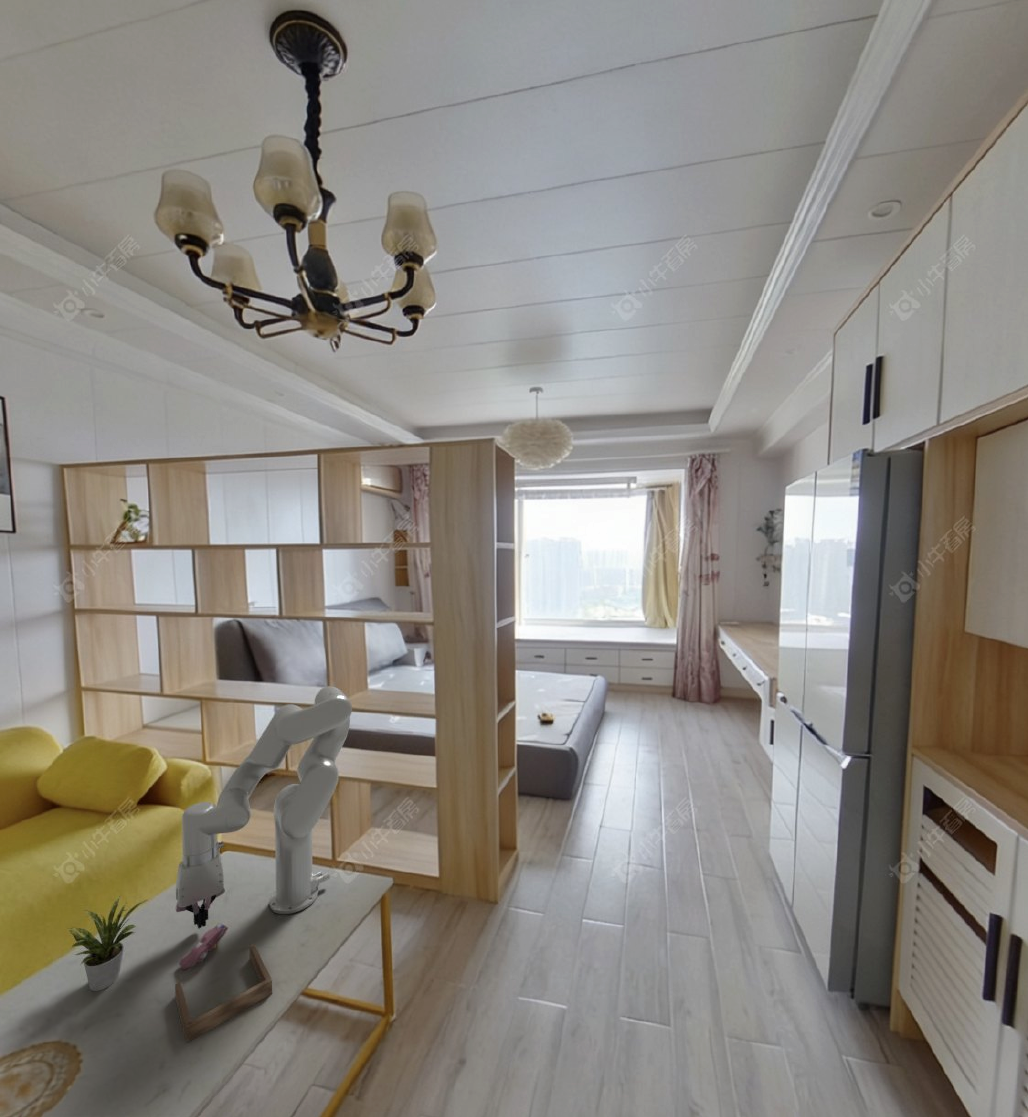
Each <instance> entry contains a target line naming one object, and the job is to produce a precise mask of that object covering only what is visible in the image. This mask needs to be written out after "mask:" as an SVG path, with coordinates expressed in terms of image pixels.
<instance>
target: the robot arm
mask: <svg viewBox="0 0 1028 1117" xmlns="http://www.w3.org/2000/svg"><path fill="white" fill-rule="evenodd" d="M352 712H353V705H352V701H351V700H350V698H349V697H348V696H346V694H344V692H343V691H342V690H341V689H340V688H338V687H335V686H331V685H328V686H327V685H326V686H325V687H322V688H321V689H320V690H319V691H318V692H317V694H316V695H315V698H314V704H313V705H312V706H308V707H306V708H304V709H303V708H302V707H300V706H298V705H295V704H291V703H290V704H289V703H288V704H285V705H283V706H281V707H280V708H278V710H277V711H276V712H275V713H274V715H273V716H272V718H271V720H270V721H269V722H268V724H267V726H266V728H265V730H264V731H263V733H262V734H261V736H260V737H259V739H258V740H257V742H256V743H255V745H254V747H253V749H252V751H251V752H250V753H249V754H248V756H246V757H245V758H244V760H243V761H242V762H241V763H240V764H239V765H238V766H237V767H236V769H235V771H234V772H233V773H232V775H231V776H230V778H229V780H228V781H227V782H226V784H225V786H224V787H223V789H222V791H221V792H220V794H219V796H218V798H217V802H216V804H215V803H214V802H211V801H202V802H198V803H195V804H192V805H190V806H189V807H187V808H186V809H185V810H184V811H183V813H182V816H181V818H182V819H181V822H182V823H181V831H182V832H181V834H182V838H181V839H182V840H181V841H182V860H181V861H180V862H179V864H178V866H177V874H176V883H175V886H176V887H175V899H176V904H175V911H176V913H180V912H185V911H188V912H190V913H192V914H193V924H194V926H195V925H196V926H197V928H198V930H199V929H202V927H206V926H207V921H208V920H209V909H210V907H211V905H212V904H213V902H214V901H215V900H216V899H217V898H218V897H220V896H222V895H223V894H224V893H225V879H224V878H225V877H224V867H223V862H222V860H223V859H222V855H221V852H220V849H221V848H223V847H224V841H218V835H219V834H220V835H221V834H231V833H235V832H238V831H240V830H242V829H244V828H245V827H246V826H247V825H248V824H249V821H251V820H250V819H251V815H252V814H251V807H250V802H249V799H250V798H251V795H252V794H253V793H254V790H255V788H256V787H257V785H258V784H259V782H260V781H261V779H262V778H263V777H264V776H265V775H266V774H268V773H269V772H273V771H275V770H277V769H279V767H280V766H281V765H282V762H283V761H284V759H285V758H286V756H287V754H288V752H289V751H290V750H291V748H292V746H293V745H294V746H295V745H298V744H301V743H304V742H307V741H309V740H311V739H312V740H311V742H310V744H309V745H308V747H307V749H306V751H305V752H304V754H303V755H302V758H301V759H300V761H299V763H298V765H297V769H296V773H297V777H298V779H299V782H300V783H291V784H288V785H287V786H284V787H283V789H281V790H280V791H279V792H278V794H277V796H276V797H275V800H274V804H273V819H274V835H275V838H274V839H275V840H274V841H275V848H274V849H275V851H274V852H275V855H274V856H275V891H274V892H273V893H272V895H271V896H270V898H269V909H270V910H271V911H272V912H273V913H275V914H279V915H290V914H295V913H297V912H300V911H302V910H304V909H306V908H308V907H309V906H311V904H313V903H314V902H315V901H316V899H317V898H318V896H319V886H320V884H322V883H325V882H327V881H328V880H330V879H331V876H330V873H329V872H325V873H322V871H321V870H320V871H318V872H316V873H314V874H313V830H314V828H315V826H316V825H317V823H318V822H319V821H320V819H321V816H322V814H323V813H324V811H325V809H326V807H327V806H328V804H329V803H330V801H331V798H332V797H333V794H334V792H335V790H336V788H337V785H338V782H339V771H338V770H339V769H338V767H337V765H336V760H337V758H338V756H339V753H340V752H341V750H342V748H343V746H344V744H345V741H346V739H347V737H348V733H349V730H350V725H351V724H350V723H351V715H352ZM201 901H202V904H200V905H199V902H201Z"/></svg>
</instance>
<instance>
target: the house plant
mask: <svg viewBox="0 0 1028 1117" xmlns="http://www.w3.org/2000/svg"><path fill="white" fill-rule="evenodd" d="M121 896H122V894H120V895H119V896H118V897H117V898H116V899H115V901H114V903H113V905H112V906H111V909H110V911H109V914H108V918H107V922H106V918H105V916H104V915H102V914H100V916H99V914H97V913H95V912H93V911H90V910H88V909H87V910H86V909H83V911H84V912H85V913H86V914H88V915H89V916H85V917H87V918H90V919H91V920H93V922H94V924H95V927H96V930H97V933H98V935H99V938H100V940H98V939H97V938H96V937H95V936H94V935H93V934H92V932H89V931H88V930H87V929H85V928H81V927H76V926H75V927H74V926H72V927H68V929H69V930H68V931H69V932H70V934H71V935H72V936H73V938H74V940H75V943H73V944H72V946H71V948H74V947H79V946H82V947H84V948H86V949H87V950H84V951H80V952H78V953H76V954H75V956H79V955H86V957H84V958H83V959H82V962H81V963H80V965H82V964H83V965H84V970H85V974H86V978H87V982H88V986H89V989H90V990H91V991H93V992H94V991H95V992H96V991H100V990H104V989H106V988H108V987H109V986H111V985H113V983H115V982H116V981H118V979H119V976H120V971H121V967H122V966H121V965H122V961H123V954H124V951H125V944H124V943H123V942H122V941H123V940H125V939H126V938H128V937H129V936H130V935H133V934H134V933H136V932H134V931H131V930H132V929H134V928H137V926H136V925H135V924H128V925H127V926H126V927H124V926H125V924H126V923H127V922H128V921H129V920H130V918H128V917H129V916H130V915H131V913H132V912H133V911H135V910H136V908H138V907H139V906H140V905H141V904H143V903H145V902H147V901H148V899H146V900H143V901H141V902H138V903H137V904H135V905H134V906H132V907H131V908H130V909H129V910H128V909H125V908H126V906H127V904H128V902H127V901H126V903H124V905H122V907H121V908H120V910H119V912H118V914H117V915H116V917H115V914H116V911H117V909H118V906H119V902H120V899H121ZM125 911H128V912H126V914H125V915H124V916H123V918H122V920H121V917H122V914H123V912H125ZM101 917H102V919H101ZM114 918H115V919H114ZM127 918H128V919H127ZM120 920H121V921H120ZM123 927H124V928H123ZM121 929H122V930H121ZM120 930H121V931H120ZM79 933H80V934H79ZM100 941H101V942H100Z"/></svg>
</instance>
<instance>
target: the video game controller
mask: <svg viewBox="0 0 1028 1117" xmlns="http://www.w3.org/2000/svg"><path fill="white" fill-rule="evenodd" d="M228 928H229V927H228V926H226V925H225V924H222V923H218V924H216V925H215V926H214V927H213V928H211V929H209V930H208V931H206V932H205V933H204V934H203V935H202V937H201V939H199V941H198V942H197V943H196V944H195V945H194V947H193V948H192V949H191V950H190V951H189V952H188V953H187V954H186V955H185V956H183V957H182V958H181V960H180V961H179V966H180V969H183V970H184V969H189V968H191V967H192V966H193V965H195V964H196V963H198V962H199V963H201V962H202V961H203V960H204V959H205V958H206V956H207V955H208V952H212V951H213V950H215V949H216V948H217V945H218V943H219V942H220V941H221V940H222V938H223V937H224V936H225V934H226V933H227V931H228Z"/></svg>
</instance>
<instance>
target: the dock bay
mask: <svg viewBox="0 0 1028 1117" xmlns="http://www.w3.org/2000/svg"><path fill="white" fill-rule="evenodd" d="M249 960H250V962H251V963H252V966H253V968H254V970H255V972H256V974H257V977H258V979H259V981H260V982H259V983H258V984H256V985H254V986H252V987H250V988H249V989H246V990H245V991H243V992H241V993H239V994H238V995H236V996H234V997H232V998H231V999H229V1000H226V1001H225V1002H223V1003H221V1004H219V1005H218V1006H216V1007H214V1008H213V1009H210V1010H209V1011H207V1012H206V1013H203V1014H202V1015H200V1016H198V1017H197V1018H195V1019H191V1015H190V1010H189V1008H188V1004H187V1000H186V997H185V993H184V990H183V984H182V981H178V982H176V983H175V984H174V993H175V994H174V995H175V996H174V997H175V998H174V1000H175V1002H176V1006H177V1010H178V1014H179V1019H180V1022H181V1025H182V1026H181V1027H182V1029H183V1034H184V1036H185V1041H186V1043H189V1042H190V1041H192V1040H194V1039H195V1038H197V1037H200V1036H201V1035H202V1034H205V1033H206V1032H208V1031H209V1030H212V1029H213V1028H215V1027H217V1026H218V1025H220V1024H221V1023H224V1022H225V1021H227V1020H229V1019H230V1018H232V1017H235V1016H236V1015H237V1014H239V1013H241V1012H242V1011H244V1010H246V1009H248V1008H250V1007H251V1006H253V1005H255V1004H256V1003H258V1002H259V1001H261V1000H263V999H265V998H266V997H268V996H270V995H272V994H273V979H272V977H271V975H270V973H269V971H268V968H267V967H266V964H265V963H264V961H263V958H262V957H261V954H260V952H259V950H258V948H257V947H256V945H255V944H252V945H250V946H249Z"/></svg>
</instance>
